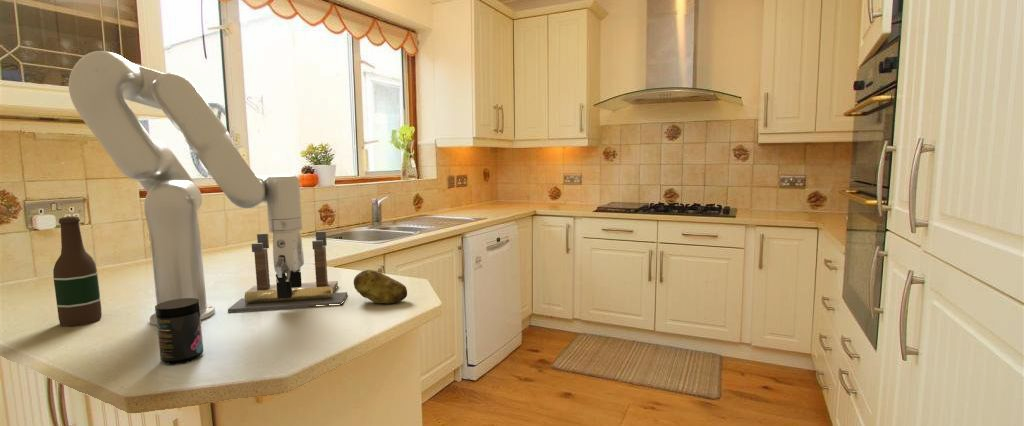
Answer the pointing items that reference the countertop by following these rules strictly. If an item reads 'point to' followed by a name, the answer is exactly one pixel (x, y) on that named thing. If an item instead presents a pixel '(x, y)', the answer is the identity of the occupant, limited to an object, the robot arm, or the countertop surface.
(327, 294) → the rail
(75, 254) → the beer bottle
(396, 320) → the countertop surface
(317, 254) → the hook stand
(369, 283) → the potato
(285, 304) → the mat
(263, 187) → the robot arm
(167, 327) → the supplement container
